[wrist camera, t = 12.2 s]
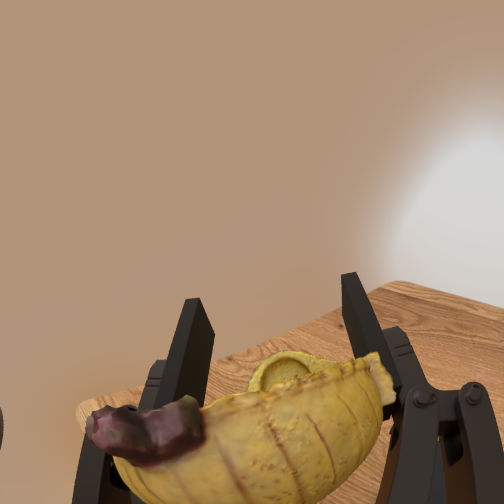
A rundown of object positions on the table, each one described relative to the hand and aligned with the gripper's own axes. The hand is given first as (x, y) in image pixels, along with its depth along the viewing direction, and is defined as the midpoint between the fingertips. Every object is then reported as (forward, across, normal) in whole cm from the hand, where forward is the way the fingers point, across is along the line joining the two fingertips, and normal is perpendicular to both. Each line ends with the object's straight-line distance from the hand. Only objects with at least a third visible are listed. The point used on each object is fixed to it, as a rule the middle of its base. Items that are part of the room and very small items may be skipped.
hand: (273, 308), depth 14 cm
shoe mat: (-22, +21, -18) cm, 35 cm away
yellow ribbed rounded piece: (-5, 0, -8) cm, 10 cm away
